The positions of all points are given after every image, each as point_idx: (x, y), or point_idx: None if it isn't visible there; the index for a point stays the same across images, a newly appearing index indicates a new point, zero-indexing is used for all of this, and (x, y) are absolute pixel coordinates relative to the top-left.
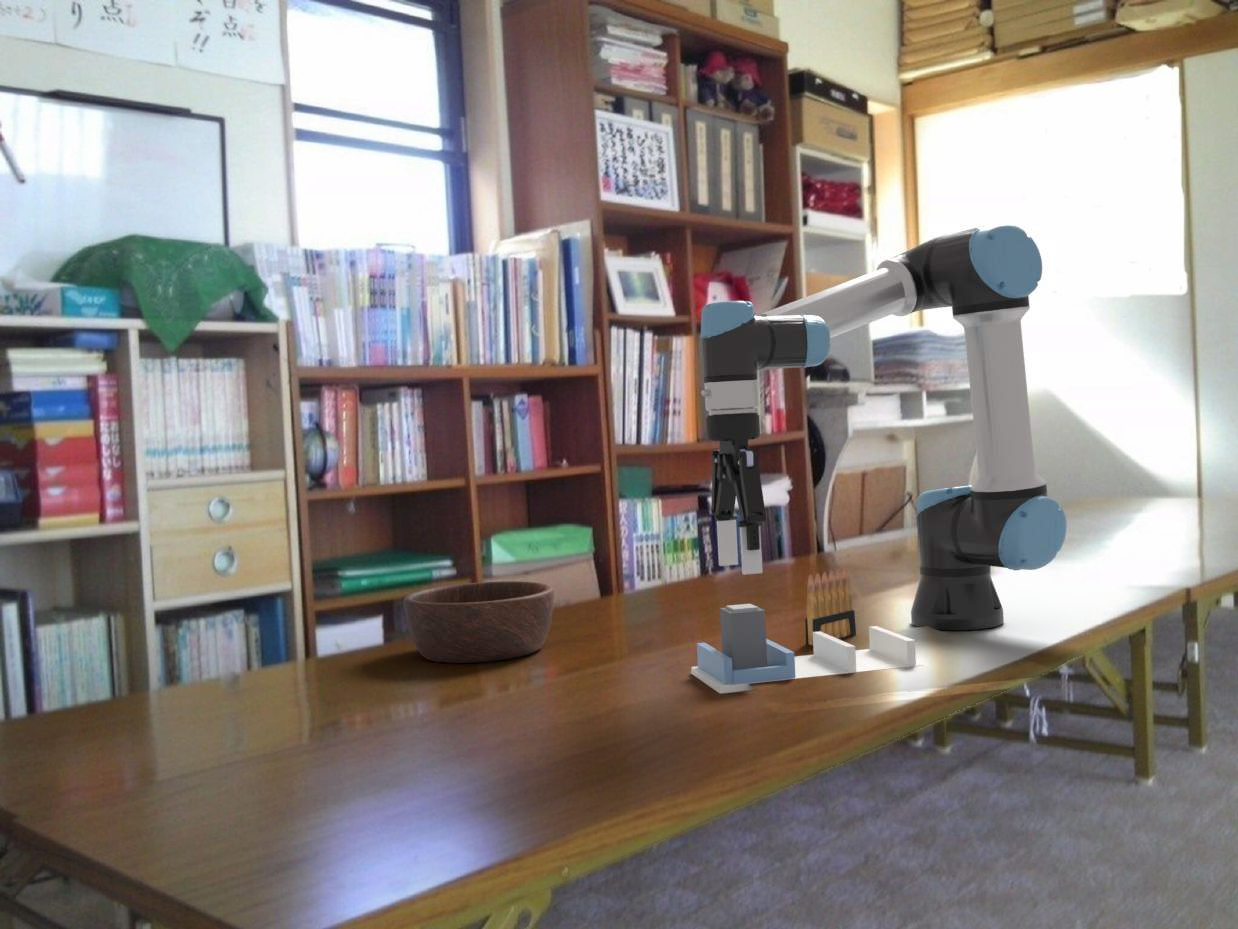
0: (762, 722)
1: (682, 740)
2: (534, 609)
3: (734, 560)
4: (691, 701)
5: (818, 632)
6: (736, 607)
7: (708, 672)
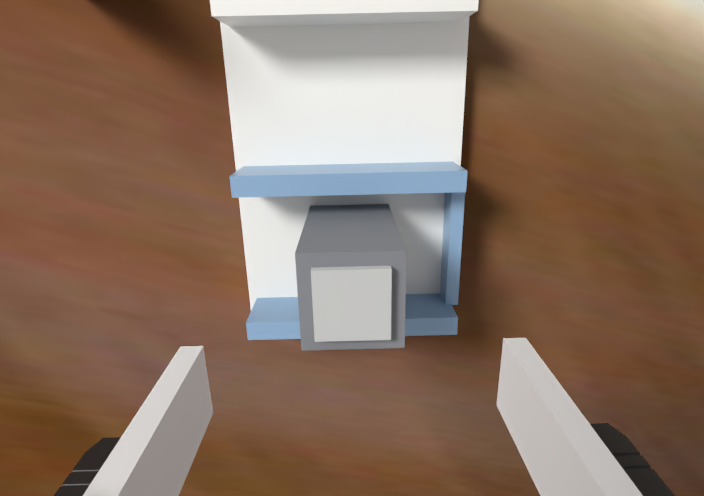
0: (679, 304)
1: (696, 428)
2: None
3: (200, 371)
4: (476, 367)
5: (225, 1)
6: (361, 324)
7: None
